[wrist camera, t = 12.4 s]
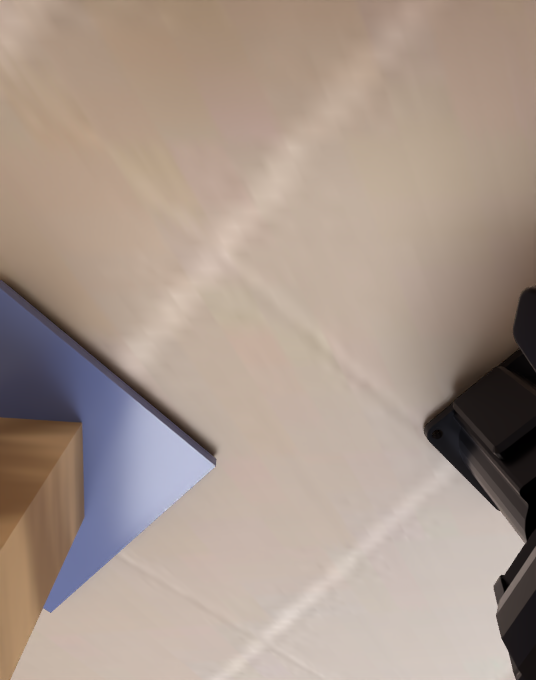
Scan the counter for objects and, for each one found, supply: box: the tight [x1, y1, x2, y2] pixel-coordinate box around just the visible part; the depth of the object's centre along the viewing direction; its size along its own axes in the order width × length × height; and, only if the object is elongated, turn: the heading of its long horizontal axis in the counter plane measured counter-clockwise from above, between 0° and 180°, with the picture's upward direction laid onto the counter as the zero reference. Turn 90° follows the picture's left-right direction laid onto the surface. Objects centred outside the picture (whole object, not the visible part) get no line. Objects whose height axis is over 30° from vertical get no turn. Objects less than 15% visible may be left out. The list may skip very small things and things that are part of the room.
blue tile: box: [0, 280, 216, 613], centre depth 22 cm, size 12×12×1 cm
